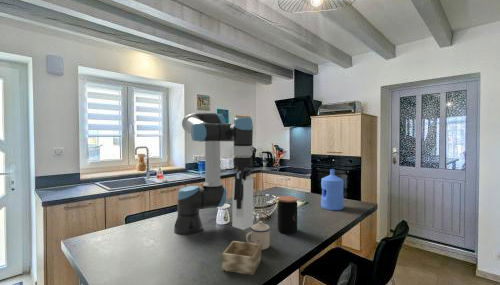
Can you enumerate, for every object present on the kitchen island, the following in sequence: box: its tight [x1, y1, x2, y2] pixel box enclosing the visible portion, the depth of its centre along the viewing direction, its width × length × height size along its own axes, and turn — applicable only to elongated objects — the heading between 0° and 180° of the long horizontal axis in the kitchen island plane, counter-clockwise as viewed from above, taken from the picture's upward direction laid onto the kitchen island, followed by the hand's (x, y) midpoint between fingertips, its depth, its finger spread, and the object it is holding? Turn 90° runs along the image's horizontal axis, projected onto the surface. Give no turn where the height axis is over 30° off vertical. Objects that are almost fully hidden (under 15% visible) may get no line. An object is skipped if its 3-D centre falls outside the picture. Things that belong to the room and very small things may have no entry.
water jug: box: [320, 168, 345, 211], centre depth 186 cm, size 16×16×28 cm
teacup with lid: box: [245, 220, 271, 251], centre depth 119 cm, size 12×9×12 cm
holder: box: [221, 240, 262, 276], centre depth 103 cm, size 13×13×6 cm
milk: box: [231, 175, 254, 231], centre depth 102 cm, size 6×6×22 cm
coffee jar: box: [277, 195, 298, 235], centre depth 140 cm, size 11×11×18 cm
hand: (242, 213), depth 102 cm, fingers closed on milk, 8 cm apart
